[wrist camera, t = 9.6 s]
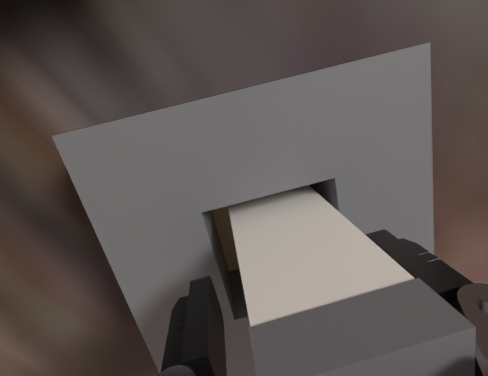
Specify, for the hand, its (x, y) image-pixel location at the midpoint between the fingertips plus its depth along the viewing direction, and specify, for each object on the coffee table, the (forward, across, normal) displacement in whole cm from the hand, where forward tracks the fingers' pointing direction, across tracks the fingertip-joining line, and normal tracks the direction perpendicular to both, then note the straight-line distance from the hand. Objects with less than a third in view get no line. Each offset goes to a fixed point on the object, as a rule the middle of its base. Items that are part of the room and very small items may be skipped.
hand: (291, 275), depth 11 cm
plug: (+5, 0, 0) cm, 5 cm away
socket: (+7, 0, 0) cm, 7 cm away
